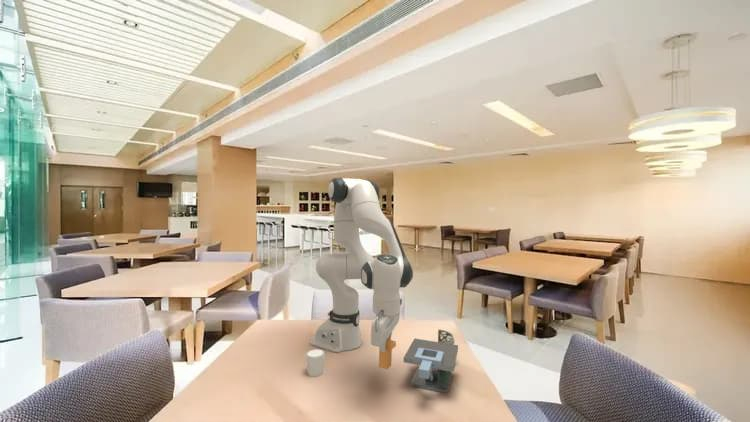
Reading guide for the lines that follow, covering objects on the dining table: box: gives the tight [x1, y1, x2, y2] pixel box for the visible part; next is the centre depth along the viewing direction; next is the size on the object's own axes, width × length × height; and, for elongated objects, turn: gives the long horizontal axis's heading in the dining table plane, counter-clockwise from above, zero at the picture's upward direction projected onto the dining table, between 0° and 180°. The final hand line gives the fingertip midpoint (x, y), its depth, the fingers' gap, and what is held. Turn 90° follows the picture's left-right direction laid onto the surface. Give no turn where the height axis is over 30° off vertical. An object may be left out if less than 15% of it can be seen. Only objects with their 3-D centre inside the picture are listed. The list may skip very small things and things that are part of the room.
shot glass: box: [305, 348, 326, 377], centre depth 110 cm, size 7×7×7 cm
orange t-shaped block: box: [378, 339, 397, 371], centre depth 101 cm, size 6×3×8 cm, turn 58°
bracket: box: [414, 348, 444, 379], centre depth 98 cm, size 8×13×3 cm, turn 160°
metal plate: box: [403, 338, 459, 395], centre depth 106 cm, size 16×16×10 cm
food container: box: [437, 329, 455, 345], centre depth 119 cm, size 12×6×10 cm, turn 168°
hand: (385, 347), depth 101 cm, fingers closed on orange t-shaped block, 3 cm apart
